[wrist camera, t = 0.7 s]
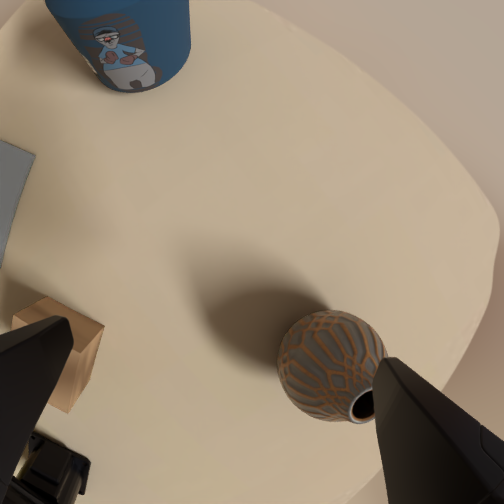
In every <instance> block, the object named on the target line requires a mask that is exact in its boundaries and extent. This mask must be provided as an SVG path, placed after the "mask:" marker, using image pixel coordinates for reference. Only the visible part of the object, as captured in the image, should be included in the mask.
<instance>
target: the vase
mask: <svg viewBox="0 0 504 504" xmlns="http://www.w3.org/2000/svg"><path fill="white" fill-rule="evenodd" d="M384 357H388V354H387V351H386V348H385V346H384V344H383V342H382V340H381V338H380V337H379V335H378V334H377V332H376V331H375V330H374V329H373V328H372V327H371V326H370V325H369V324H367V323H366V322H365V321H363V320H362V319H360V318H358V317H356V316H354V315H352V314H350V313H347V312H343V311H336V310H325V311H318V312H315V313H312V314H309V315H307V316H305V317H303V318H302V319H300V320H299V321H297V322H296V323H295V324H294V325H293V326H292V327H291V328H290V329H289V330H288V332H287V333H286V335H285V336H284V338H283V340H282V342H281V344H280V348H279V352H278V357H277V370H278V375H279V379H280V382H281V385H282V387H283V389H284V391H285V393H286V395H287V396H288V398H289V399H290V400H291V401H292V403H293V404H294V405H295V406H297V407H298V408H299V409H300V410H301V411H303V412H304V413H306V414H308V415H309V416H311V417H313V418H316V419H319V420H323V421H329V422H341V421H349V422H352V423H356V424H363V423H367V422H369V421H371V420H373V419H375V411H374V401H373V391H372V381H373V378H374V375H375V373H376V371H377V368H378V366H379V363H380V361H381V359H382V358H384Z"/></svg>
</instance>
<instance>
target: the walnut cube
mask: <svg viewBox="0 0 504 504" xmlns="http://www.w3.org/2000/svg"><path fill="white" fill-rule="evenodd" d="M53 315H60V316H64V317H66V318H68V320H69V323H70V327H71V330H72V334H73V338H74V345H73V348H72V351H71V353H70V355H69V357H68V360H67V362H66V364H65V366H64V369H63V371H62V373H61V376H60V378H59V380H58V383H57V385H56V387H55V389H54V391H53V393H52V394H51V396H50V398H49V400H48V402H47V403H49V404H50V405H52V406H54V407H56V408H58V409H60V410H61V411H63V412H65V413H67V414H68V413H69V412H70V410H71V408H72V407H73V405H74V404H75V402H76V400H77V399H78V397H79V396H80V394H81V393H82V391H83V390H84V388H85V386H86V385H87V383H88V382H89V380H90V377H91V373H92V369H93V365H94V362H95V358H96V354H97V351H98V347H99V344H100V340H101V337H102V333H103V330H104V327H105V326H104V325H102V324H100V323H98V322H96V321H94V320H92V319H90V318H88V317H86V316H84V315H82V314H80V313H78V312H76V311H74V310H72V309H70V308H68V307H66V306H65V305H63V304H61V303H59V302H57V301H55V300H54V299H52V298H50V297H48V296H47V297H45V298H43V299H41V300H39V301H38V302H36V303H34V304H32V305H30V306H28V307H26V308H25V309H23V310H21V311H19V312H17V313H16V314H14V315H13V320H12V327H11V331H12V330H15V329H18V328H21V327H23V326H26V325H29V324H31V323H34V322H37V321H40V320H42V319H45V318H48V317H51V316H53Z"/></svg>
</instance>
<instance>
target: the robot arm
mask: <svg viewBox="0 0 504 504" xmlns="http://www.w3.org/2000/svg"><path fill="white" fill-rule="evenodd" d="M73 345H74V338H73V334H72V330H71V327H70V323H69V320H68V318H66V317H64V316H60V315H53V316H51V317H48V318H45V319H42V320H40V321H37V322H34V323H31V324H29V325H26V326H23V327H21V328H18V329H15V330H12V331H10V332H7V333H4V334H1V335H0V504H74V503H75V500H76V497H77V495H78V494H80V495H84V494H85V490H86V485H87V480H88V475H89V470H90V465H91V462H90V461H89V460H88V459H86V458H84V457H81V456H79V455H77V454H75V453H73V452H71V451H69V450H67V449H65V448H63V447H61V446H59V445H57V444H55V443H53V442H51V441H50V440H48V439H46V438H44V437H42V436H41V435H39V434H37V433H35V432H33V430H34V428H35V425H36V423H37V421H38V419H39V417H40V415H41V414H42V412H43V410H44V408H45V406H46V404H47V402H48V400H49V398H50V396H51V394H52V393H53V391H54V389H55V387H56V385H57V383H58V380H59V378H60V376H61V373H62V371H63V369H64V366H65V364H66V362H67V360H68V357H69V355H70V353H71V351H72V348H73ZM372 391H373V401H374V411H375V423H376V433H377V438H378V444H379V449H380V454H381V460H382V465H383V470H384V477H385V483H386V489H387V496H388V503H389V504H504V441H503V440H501V439H500V438H499V437H497V436H496V435H495V434H493V433H492V432H491V431H489V430H488V429H487V428H486V427H484V426H483V425H481V424H480V423H479V422H478V421H477V420H476V419H474V418H473V417H472V416H470V415H469V414H468V413H467V412H465V411H464V410H463V409H462V408H460V407H459V406H458V405H457V404H455V403H454V402H453V401H451V400H450V399H449V398H448V397H446V396H445V395H444V394H442V393H441V392H440V391H439V390H438V389H436V388H435V387H434V386H432V385H431V384H430V383H429V382H427V381H426V380H425V379H424V378H422V377H421V376H420V375H418V374H417V373H416V372H415V371H413V370H412V369H411V368H410V367H408V366H407V365H406V364H404V363H403V362H402V361H401V360H399V359H398V358H396V357H384V358H382V359H381V361H380V363H379V366H378V368H377V371H376V373H375V375H374V378H373V381H372ZM28 440H29V457H28V458H27V460H26V462H25V463H24V465H23V467H22V468H21V470H20V471H19V473H18V475H17V476H16V477H15V476H13V474H14V471H15V469H16V467H17V464H18V462H19V460H20V457H21V455H22V453H23V451H24V449H25V446H26V444H27V442H28Z"/></svg>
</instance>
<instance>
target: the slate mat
mask: <svg viewBox="0 0 504 504" xmlns="http://www.w3.org/2000/svg"><path fill="white" fill-rule="evenodd" d="M35 156H36V155H33V154H31V153H29V152H26V151H24V150H22V149H20V148H17V147H15V146H13V145H10V144H8V143H6V142H4V141H1V140H0V268H1V264H2V260H3V255H4V251H5V247H6V243H7V239H8V235H9V231H10V228H11V224H12V221H13V217H14V214H15V211H16V208H17V205H18V201H19V198H20V195H21V193H22V190H23V187H24V184H25V181H26V179H27V176H28V173H29V171H30V168H31V166H32V163H33V161H34V158H35Z"/></svg>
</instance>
